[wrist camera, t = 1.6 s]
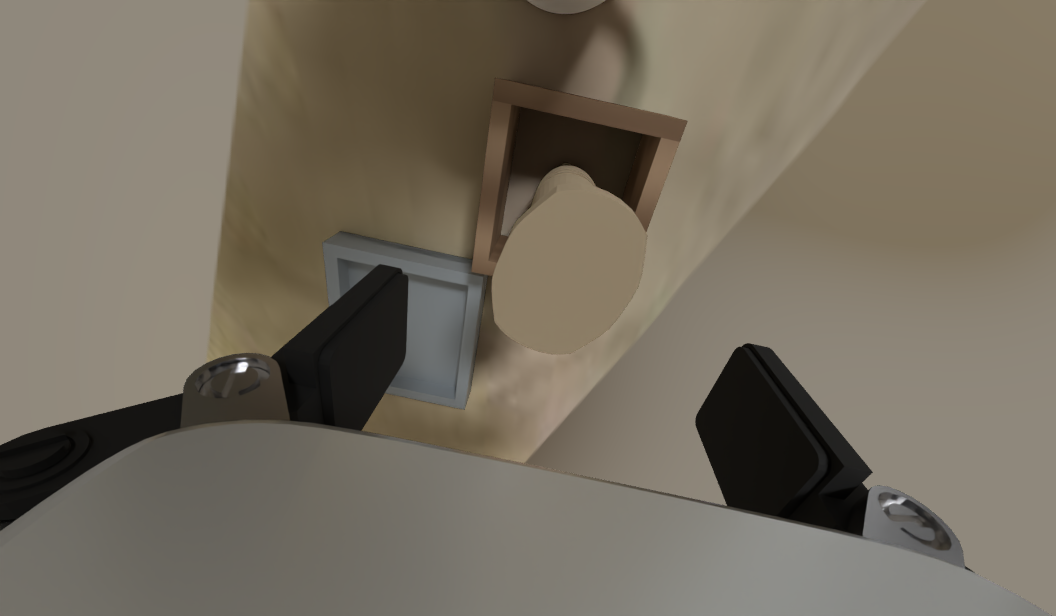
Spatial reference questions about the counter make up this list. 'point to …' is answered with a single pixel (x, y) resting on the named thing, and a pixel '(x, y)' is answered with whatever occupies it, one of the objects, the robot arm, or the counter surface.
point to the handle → (567, 265)
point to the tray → (420, 312)
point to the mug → (565, 5)
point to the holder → (511, 96)
